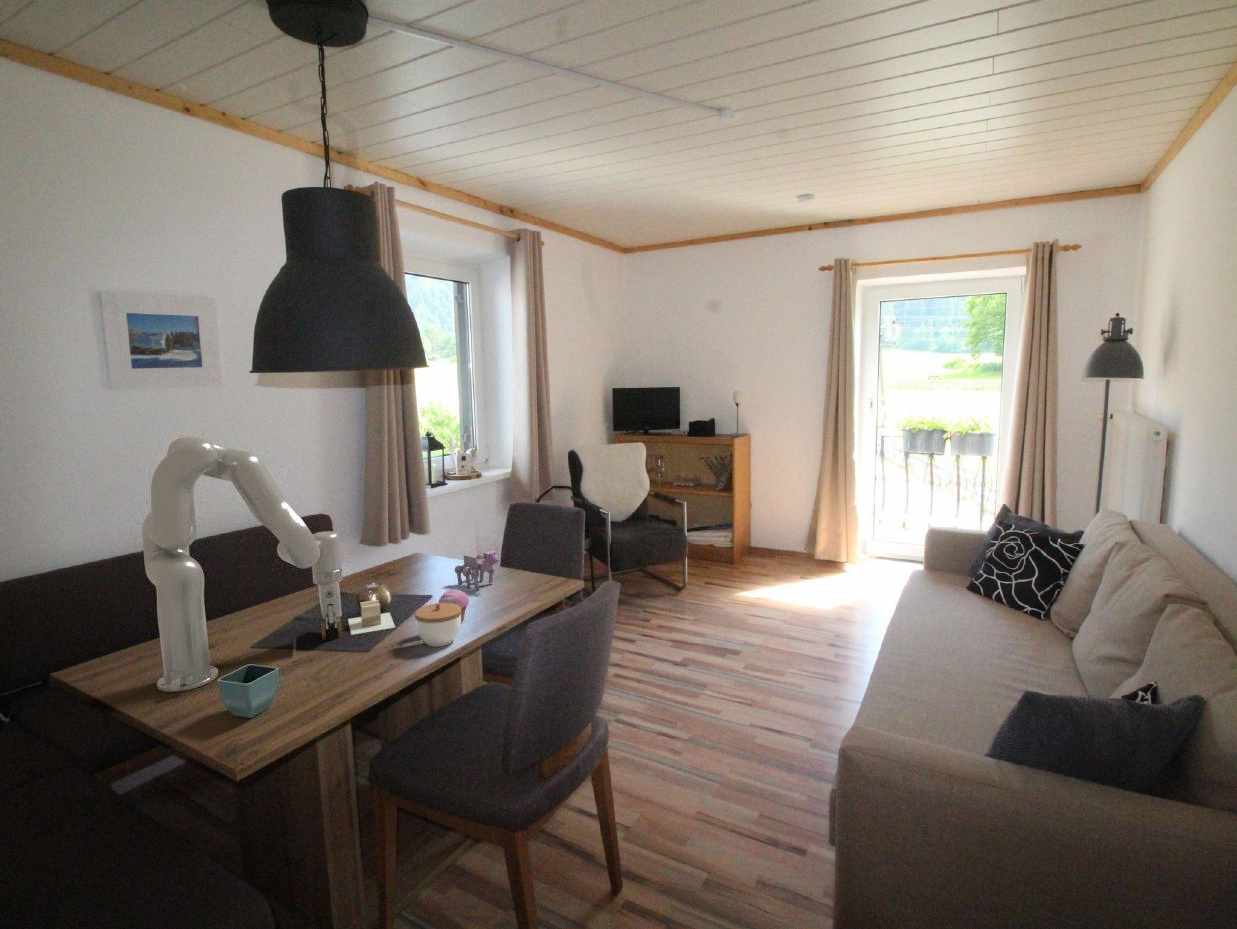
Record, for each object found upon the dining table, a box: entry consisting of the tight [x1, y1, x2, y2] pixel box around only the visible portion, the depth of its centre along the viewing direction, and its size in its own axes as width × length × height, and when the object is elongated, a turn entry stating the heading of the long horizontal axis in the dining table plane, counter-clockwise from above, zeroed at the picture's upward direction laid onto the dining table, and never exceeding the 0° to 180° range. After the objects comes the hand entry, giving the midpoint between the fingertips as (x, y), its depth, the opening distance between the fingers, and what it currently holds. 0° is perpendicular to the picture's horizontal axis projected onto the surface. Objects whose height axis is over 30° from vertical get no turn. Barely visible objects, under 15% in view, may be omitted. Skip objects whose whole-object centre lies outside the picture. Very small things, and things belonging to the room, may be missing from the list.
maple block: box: [359, 599, 381, 627], centre depth 195 cm, size 5×5×6 cm
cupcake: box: [437, 589, 470, 622], centre depth 197 cm, size 9×9×10 cm
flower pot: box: [216, 663, 280, 719], centre depth 145 cm, size 9×9×9 cm
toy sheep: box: [454, 549, 501, 590], centre depth 232 cm, size 20×11×14 cm, turn 51°
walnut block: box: [320, 615, 343, 641], centre depth 186 cm, size 5×5×6 cm
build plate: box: [347, 612, 396, 636], centre depth 195 cm, size 14×12×1 cm
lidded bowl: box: [414, 602, 462, 648], centre depth 183 cm, size 13×13×11 cm
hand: (332, 637), depth 186 cm, fingers open, 5 cm apart
